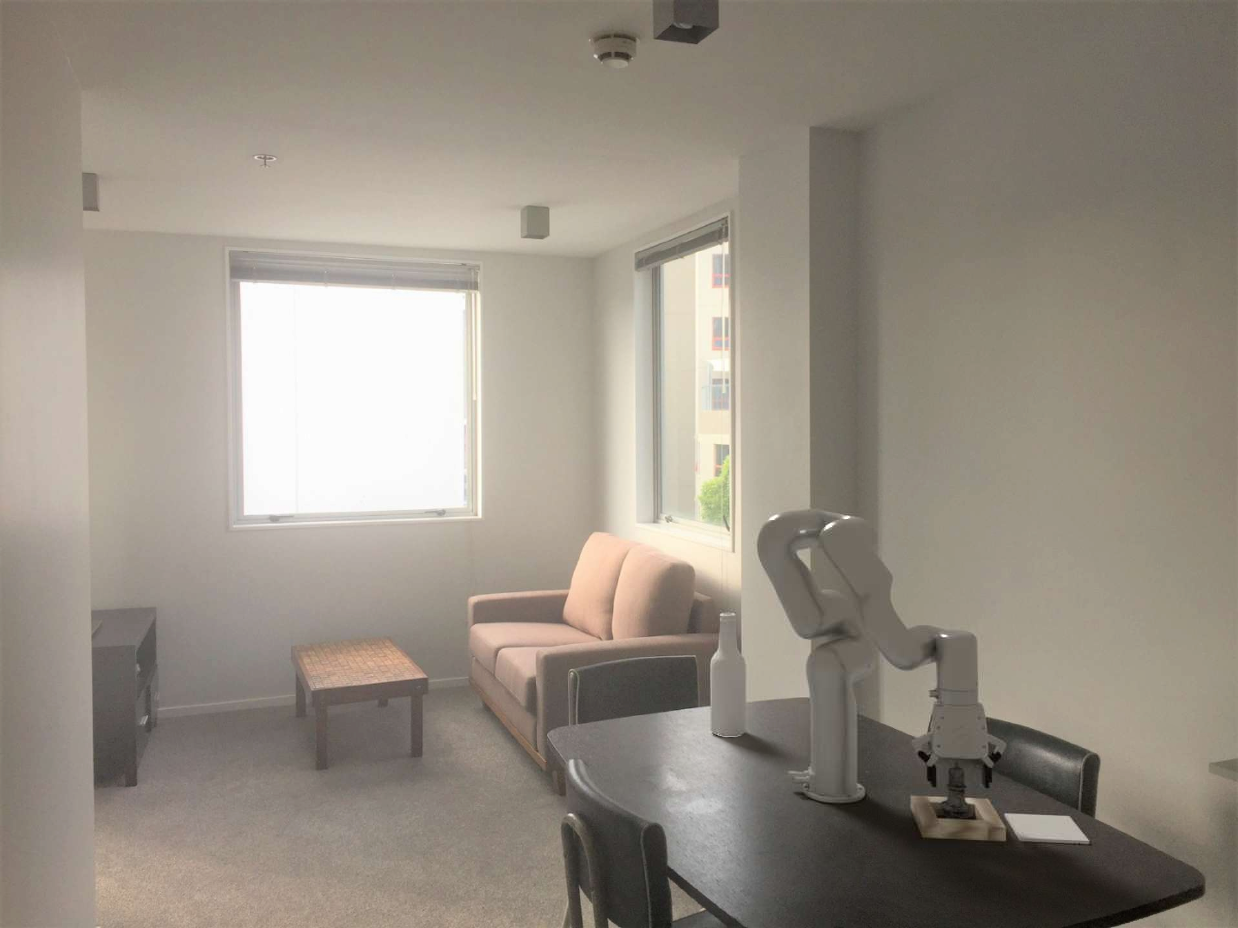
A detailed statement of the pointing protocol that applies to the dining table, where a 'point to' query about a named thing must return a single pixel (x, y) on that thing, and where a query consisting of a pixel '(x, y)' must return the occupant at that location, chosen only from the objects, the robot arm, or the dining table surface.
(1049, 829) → the rubber mat
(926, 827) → the frame
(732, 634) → the alcohol
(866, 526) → the robot arm
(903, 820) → the dining table surface
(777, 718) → the dining table surface
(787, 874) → the dining table surface
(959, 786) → the black chess piece
